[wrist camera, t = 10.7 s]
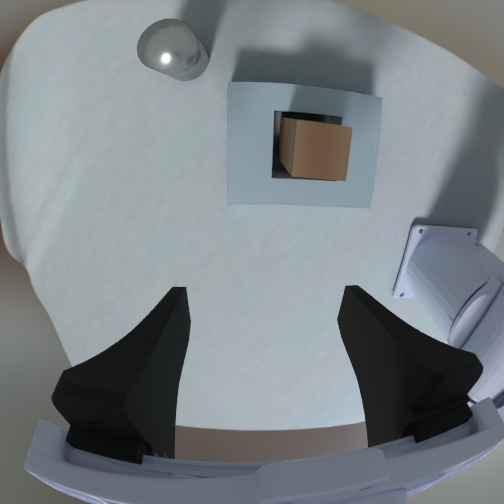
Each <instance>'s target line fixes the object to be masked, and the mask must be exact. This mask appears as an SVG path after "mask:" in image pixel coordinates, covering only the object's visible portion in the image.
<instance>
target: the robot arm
mask: <svg viewBox="0 0 504 504" xmlns="http://www.w3.org/2000/svg"><path fill="white" fill-rule="evenodd" d="M420 229H421V231H420V232H419V230H420ZM468 232H469V233H468ZM476 237H477V230H476V229H474V228H462V227H448V226H434V225H418V224H416V225H414V226H413V227H412V228H411V232H410V236H409V240H408V244H407V247H406V251H405V255H404V258H403V262H402V265H401V269H400V272H399V275H398V278H397V282H396V285H395V288H394V291H393V294H392V295H393V297H394V298H395V299H400V298H412V297H416V298H417V299H418V300H419V302H420V303H421V304H422V306H423V307H424V308H425V310H426V311H427V312H428V314H429V315H430V317H431V318H432V319H433V321H434V322H435V324H436V325H437V326H438V328H439V329H440V331H441V332H442V334H443V335H444V337H445V338H446V340H447V341H448V344H445V343H443V342H440V341H438V340H436V339H434V338H432V337H430V336H428V335H426V334H424V333H422V332H420V331H419V330H417V329H415V328H414V327H412V326H410V325H409V324H407V323H406V322H404V321H403V320H402V319H400V318H399V317H397V316H396V315H395V314H393V313H392V312H391V311H389V310H388V309H387V308H386V307H384V306H383V305H382V304H381V303H379V302H378V301H377V300H376V299H374V298H373V297H372V296H371V295H370V294H368V293H367V292H366V291H365V290H363V289H362V288H361V287H359V286H358V285H352V286H345V290H344V295H343V299H342V303H341V307H340V311H339V314H338V318H337V321H338V325H339V330H340V334H341V338H342V340H343V343H344V345H345V348H346V351H347V353H348V356H349V358H350V361H351V364H352V366H353V369H354V372H355V374H356V377H357V380H358V384H359V389H360V393H361V397H362V403H363V408H364V413H365V420H366V428H367V438H368V448H365V449H359V450H354V451H349V452H344V453H339V454H333V455H327V456H321V457H314V458H306V459H297V460H288V461H276V462H257V463H220V462H200V461H199V462H198V461H186V460H177V459H175V422H176V407H177V396H178V387H179V381H180V377H181V372H182V368H183V364H184V359H185V355H186V351H187V347H188V342H189V335H190V325H191V320H190V313H189V305H188V298H187V290H186V287H172V288H171V289H170V290H169V291H168V293H167V294H166V295H165V296H164V297H163V298H162V300H161V301H160V302H159V303H158V304H157V305H156V306H155V308H154V309H153V310H152V311H151V312H150V313H149V314H148V315H147V316H146V317H145V318H144V319H143V320H142V321H141V322H140V323H139V324H138V325H137V326H136V327H135V328H134V329H133V330H132V331H131V332H129V333H128V334H127V335H126V336H125V337H123V338H122V339H121V340H119V341H118V342H117V343H115V344H114V345H112V346H111V347H109V348H108V349H106V350H105V351H103V352H101V353H100V354H98V355H96V356H95V357H93V358H91V359H89V360H87V361H85V362H83V363H81V364H78V365H76V366H74V367H71V368H69V369H67V370H64V371H63V373H62V375H61V377H60V379H59V381H58V383H57V385H56V388H55V390H54V392H53V395H52V398H51V399H52V402H53V404H54V406H55V407H56V409H57V410H58V411H59V412H60V413H61V415H62V416H63V417H64V418H65V419H66V420H67V421H68V423H69V424H70V429H69V431H67V430H66V429H64V428H62V427H59V426H57V425H54V424H51V423H48V422H45V421H42V420H41V421H40V422H39V424H38V427H37V429H36V432H35V435H34V438H33V440H32V443H31V446H30V449H29V452H28V455H27V458H26V461H25V464H24V469H25V470H26V471H28V472H29V473H31V474H32V475H34V476H35V477H37V478H38V479H40V480H42V481H43V482H45V483H47V484H48V485H50V486H51V487H53V488H55V489H57V490H59V491H62V492H64V493H66V494H69V495H71V496H74V497H76V498H79V499H81V500H84V501H87V502H90V503H92V504H409V502H408V499H407V497H409V496H411V495H413V494H416V493H418V492H420V491H422V490H424V489H427V488H429V487H431V486H433V485H435V484H437V483H439V482H441V481H443V480H445V479H447V478H449V477H450V476H452V475H454V474H456V473H458V472H460V471H461V470H463V469H465V468H467V467H469V466H470V465H472V464H474V463H475V462H477V461H479V460H480V459H481V458H482V457H484V456H485V455H486V454H488V453H489V452H490V451H492V450H493V449H494V448H495V447H496V446H498V445H499V444H500V443H501V442H502V441H503V440H504V262H503V261H502V260H501V259H499V258H498V257H497V256H496V255H495V254H493V253H492V252H491V251H490V250H488V249H487V248H486V247H485V246H484V245H482V244H481V243H480V242H478V241H477V240H476ZM401 293H402V294H401Z"/></svg>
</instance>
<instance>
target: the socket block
mask: <svg viewBox="0 0 504 504" xmlns="http://www.w3.org/2000/svg"><path fill="white" fill-rule="evenodd" d="M274 111H286V112H300V113H311V114H321V115H330V116H331V123H332V124H337V125H342V126H347V127H352V128H353V129H352V138H351V146H350V154H349V162H348V169H347V176H346V181H338V180H328V179H317V178H305V177H292V176H291V175H290V173H289V172H288V171H272V155H273V128H274ZM381 111H382V98H381V97H376V96H372V95H367V94H361V93H356V92H350V91H344V90H338V89H331V88H324V87H316V86H307V85H297V84H284V83H267V82H228V139H227V193H228V204H250V205H302V206H329V207H350V208H368V209H370V205H371V198H372V192H373V185H374V178H375V171H376V163H377V155H378V146H379V136H380V124H381Z"/></svg>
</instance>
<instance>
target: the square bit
mask: <svg viewBox="0 0 504 504" xmlns="http://www.w3.org/2000/svg"><path fill="white" fill-rule="evenodd" d="M352 129H353V128H352V127H347V126H342V125H337V124H332V123H326V122H319V121H312V120H303V119H294V118H283V117H281V121H280V135H279V148H278V159H279V160H280V161H281V163H282V164H283V165H284V167H285V168H286V169H287V171H288V172H289V173H290V175H291V176H292V177H305V178H317V179H328V180H338V181H346V176H347V169H348V162H349V154H350V146H351V138H352Z"/></svg>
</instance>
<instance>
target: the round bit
mask: <svg viewBox="0 0 504 504" xmlns="http://www.w3.org/2000/svg"><path fill="white" fill-rule="evenodd" d="M137 53H138V57H139V59H140V61H141V62H142V63H143V64H144V65H145V66H147V67H149V68H151V69H153V70H156V71H158V72H161V73H163V74H166V75H168V76H171V77H173V78H175V79H178V80H182V81H188V80H192V79H195V78H197V77H199V76H200V75H201V74H202V73H203V72H204V71H205V70H206V68H207V65H208V60H209V59H208V54H207V52H206V50H205V48H204V47H203V45H202V44H201V42H200V41H199V39H198V38H197V36H196V35H195V33H194V32H193V30H192V29H191V27H190V26H189V25H188V24H186V23H185V22H183V21H181V20H178V19H164V20H160V21H157V22H155V23H153V24H152V25H150V26H149V27H148V28H147V29H146V30H145V31H144V32H143V33H142V35H141V36H140V38H139V41H138V45H137Z"/></svg>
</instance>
